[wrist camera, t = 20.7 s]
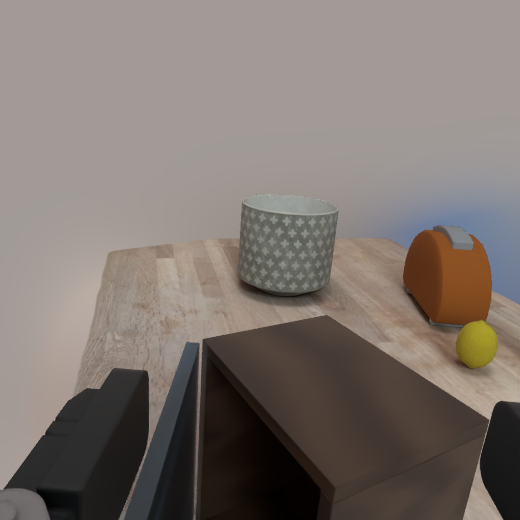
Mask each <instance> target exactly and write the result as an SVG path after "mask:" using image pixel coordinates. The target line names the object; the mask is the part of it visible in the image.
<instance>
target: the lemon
mask: <svg viewBox="0 0 520 520" xmlns="http://www.w3.org/2000/svg"><path fill="white" fill-rule="evenodd" d="M497 344H498V343H497V336H496V333H495V331H494V330H493V328H492V327H491V326H490V325H488V324H486V323H485V321H483V320H480V321H474V322H470V323H468V324H466V325H465V326H464V327H463V328H462V329H461V331H460V333H459V335H458V337H457V341H456V351H457V355H458V357H459V358H460V360H461V361H462V362H463V363H465V364H466V365H467V366H468V367H469V368H470V369H473V368H475V367H483V366H486V365H487V364H489V363H490V362H491V361H492V360H493V358H494V356H495V354H496V351H497Z"/></svg>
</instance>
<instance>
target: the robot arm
mask: <svg viewBox="0 0 520 520" xmlns="http://www.w3.org/2000/svg"><path fill="white" fill-rule="evenodd" d="M148 432H149V377H148V372H147V371H144V370H132V369H120V368H114V369H113V370H112V371H111V372H110V374H109V375H108V377H107V379H106V380H105V382H104V383H103V385H102V386H101V388H100V389H90V388H87V389H85V390H84V391H82V392H81V393H79V394H78V395H76V396H75V397H73V398H72V399H70V400H69V401H68V402H67V403H66V405H65V406H64V407H63V409H62V410H61V411H60V413H59V414H58V415H57V417H56V420H55V421H53V422H52V424H51V425H50V426H49V428H48V429H47V430H46V433H45V435H43V436H42V437H41V439H40V440H39V441H38V443H37V444H36V446H35V447H34V448H33V450H32V451H31V452H30V454H29V455H28V457H27V458H26V459H25V461H24V462H23V463H22V465H21V466H20V467H19V469H18V470H17V472H16V473H15V474H14V476H13V477H12V479H11V480H10V481H9V482H8V484H7V485H6V487H5V488H4V489H3V490H0V520H119V518H120V515H121V513H122V510H123V508H124V505H125V503H126V500H127V497H128V495H129V492H130V490H131V487H132V485H133V482H134V479H135V477H136V474H137V472H138V469H139V467H140V464H141V462H142V459H143V456H144V453H145V450H146V445H147V440H148ZM480 471H481V477H482V480H483V483H484V485H485V488H486V489H487V491H488V493H489V495H490V497H491V498H492V500H493V502H494V504H495V505H496V507H497V509H498V511H499V513H500V514H501V516H502V518H503V520H520V403H518V402H506V401H500V402H498V403H497V404H496V405H495V407H494V409H493V412H492V416H491V420H490V423H489V427H488V431H487V435H486V438H485V442H484V446H483V449H482V453H481V457H480Z"/></svg>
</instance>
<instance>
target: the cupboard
mask: <svg viewBox="0 0 520 520" xmlns="http://www.w3.org/2000/svg"><path fill="white" fill-rule="evenodd" d="M202 350H203V351H202V370H201V397H200V424H199V450H198V477H197V503H196V520H463V516H464V512H465V509H466V505H467V501H468V498H469V494H470V490H471V486H472V483H473V479H474V475H475V472H476V468H477V464H478V460H479V457H480V453H481V449H482V446H483V442H484V438H485V433H486V431H487V427H488V424H489V419H487V418H486V417H484V416H482V415H481V414H479V413H478V412H476V411H475V410H473V409H472V408H470V407H469V406H467V405H465V404H464V403H462V402H461V401H459V400H458V399H456V398H455V397H453V396H451V395H450V394H448V393H447V392H445V391H444V390H442V389H441V388H439V387H438V386H436V385H434V384H433V383H431V382H430V381H428V380H427V379H425V378H424V377H422V376H420V375H419V374H417V373H416V372H414V371H413V370H411V369H410V368H408V367H407V366H405V365H403V364H402V363H400V362H399V361H397V360H396V359H394V358H393V357H391V356H389V355H388V354H386V353H385V352H383V351H382V350H380V349H379V348H377V347H376V346H374V345H372V344H371V343H369V342H368V341H366V340H365V339H363V338H362V337H360V336H359V335H357V334H355V333H354V332H352V331H351V330H349V329H348V328H346V327H345V326H343V325H341V324H340V323H338V322H337V321H335V320H334V319H332V318H331V317H329V316H328V315H325V316H320V317H315V318H309V319H304V320H299V321H294V322H289V323H284V324H278V325H273V326H268V327H263V328H258V329H253V330H248V331H242V332H237V333H232V334H227V335H222V336H217V337H211V338H206V339H203V346H202Z"/></svg>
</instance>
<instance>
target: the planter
mask: <svg viewBox="0 0 520 520" xmlns="http://www.w3.org/2000/svg"><path fill="white" fill-rule="evenodd" d="M338 210H339V209H338V207H337V206H335V205H334V204H332V203H329V202H326V201H322V200H318V199H313V198H306V197H300V196H289V195H256V196H250V197H246V198H245V199H243V200H242V214H241V230H240V247H239V263H238V275H239V277H240V278H241V279H242V280H243V281H245V282H246V283H248V284H250V285H253V286H255V287H257V288H259V289H260V290H262V291H265V292H267V293H270V294H273V295H278V296H296V295H301V294H305V293H307V292H311V291H316V290H319V289H322V288H324V287H326V286H327V285H328V284H329V281H330V273H331V266H332V258H333V250H334V242H335V233H336V225H337V218H338Z"/></svg>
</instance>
